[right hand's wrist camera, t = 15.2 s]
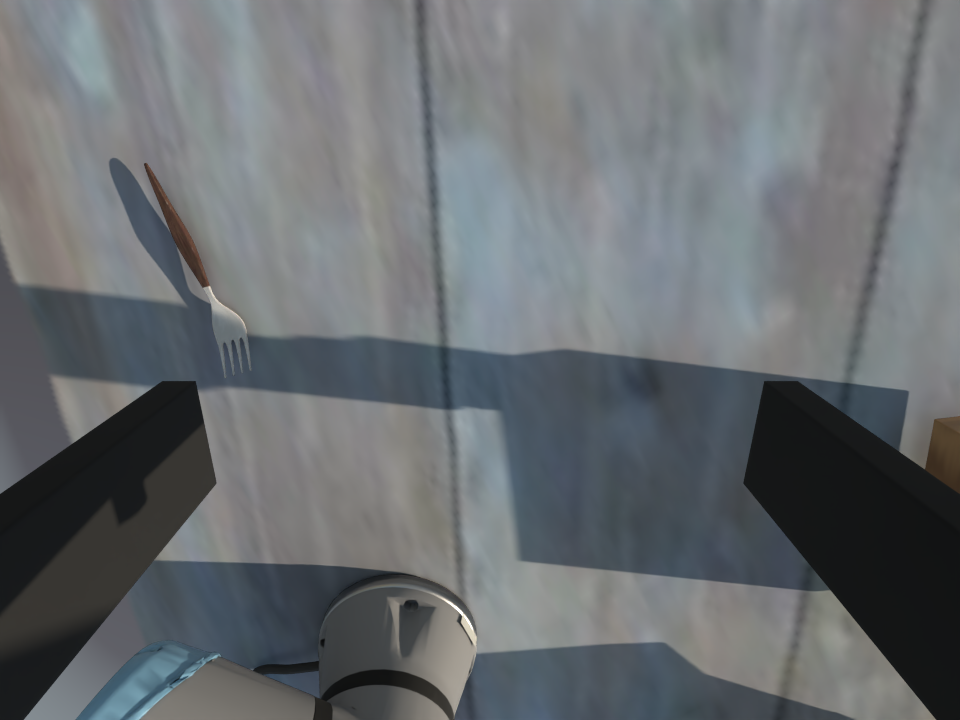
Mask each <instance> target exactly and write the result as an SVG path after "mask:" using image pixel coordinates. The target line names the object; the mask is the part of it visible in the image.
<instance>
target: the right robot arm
mask: <svg viewBox="0 0 960 720" xmlns="http://www.w3.org/2000/svg"><path fill="white" fill-rule="evenodd" d="M215 485H216V478H215V473H214V468H213V463H212V459H211V454H210V449H209V444H208V439H207V434H206V429H205V425H204V420H203V415H202V410H201V405H200V400H199V395H198V390H197V386H196V381H162V382H161V383H159V384H158V385H156V386H155V387H153V388H152V389H151V390H149V391H148V392H146V393H145V394H143V395H142V396H141V397H139V398H138V399H136V400H135V401H133V402H132V403H130V404H129V405H128V406H126V407H125V408H123V409H122V410H120V411H119V412H118V413H116V414H115V415H113V416H112V417H110V418H109V419H107V420H106V421H105V422H103V423H102V424H100V425H99V426H97V427H96V428H94V429H93V430H92V431H90V432H89V433H87V434H86V435H84V436H83V437H82V438H80V439H79V440H77V441H76V442H74V443H73V444H71V445H70V446H69V447H67V448H66V449H64V450H63V451H61V452H60V453H59V454H57V455H56V456H54V457H53V458H51V459H50V460H48V461H47V462H46V463H44V464H43V465H41V466H40V467H38V468H37V469H36V470H34V471H33V472H31V473H30V474H28V475H27V476H26V477H24V478H23V479H21V480H20V481H18V482H17V483H15V484H14V485H13V486H11V487H10V488H8V489H7V490H5V491H4V492H3V493H1V494H0V720H24V719H25V717H26V716H27V715H28V714H29V713H30V711H31V710H32V709H33V708H34V706H35V705H36V704H37V703H38V701H39V700H40V699H41V698H42V697H43V695H44V694H45V693H46V692H47V690H48V689H49V688H50V687H51V686H52V684H53V683H54V682H55V681H56V679H57V678H58V677H59V676H60V675H61V673H62V672H63V671H64V670H65V668H66V667H67V666H68V665H69V663H70V662H71V661H72V660H73V659H74V657H75V656H76V655H77V654H78V652H79V651H80V650H81V649H82V648H83V646H84V645H85V644H86V643H87V641H88V640H89V639H90V638H91V637H92V635H93V634H94V633H95V632H96V630H97V629H98V628H99V627H100V625H101V624H102V623H103V622H104V621H105V619H106V618H107V617H108V616H109V614H110V613H111V612H112V611H113V610H114V608H115V607H116V606H117V605H118V603H119V602H120V601H121V600H122V599H123V597H124V596H125V595H126V594H127V592H128V591H129V590H130V589H131V588H132V586H133V585H134V584H135V583H136V581H137V580H138V579H139V578H140V576H141V575H142V574H143V573H144V572H145V570H146V569H147V568H148V567H149V565H150V564H151V563H152V562H153V561H154V559H155V558H156V557H157V556H158V554H159V553H160V552H161V551H162V550H163V548H164V547H165V546H166V545H167V543H168V542H169V541H170V540H171V538H172V537H173V536H174V535H175V534H176V532H177V531H178V530H179V529H180V527H181V526H182V525H183V524H184V523H185V521H186V520H187V519H188V518H189V516H190V515H191V514H192V513H193V512H194V510H195V509H196V508H197V507H198V505H199V504H200V503H201V502H202V501H203V499H204V498H205V497H206V496H207V494H208V493H209V492H210V491H211V489H212V488H213V487H214V486H215ZM744 485H745V486H746V487H747V488H748V489H749V491H750V492H751V493H752V494H753V496H754V497H755V498H756V499H757V501H758V502H759V503H760V504H761V505H762V507H763V508H764V509H765V510H766V512H767V513H768V514H769V515H770V516H771V518H772V519H773V520H774V521H775V523H776V524H777V525H778V526H779V527H780V529H781V530H782V531H783V532H784V534H785V535H786V536H787V537H788V538H789V540H790V541H791V542H792V543H793V545H794V546H795V547H796V548H797V550H798V551H799V552H800V553H801V554H802V556H803V557H804V558H805V559H806V561H807V562H808V563H809V564H810V565H811V567H812V568H813V569H814V570H815V572H816V573H817V574H818V575H819V576H820V578H821V579H822V580H823V581H824V583H825V584H826V585H827V586H828V588H829V589H830V590H831V591H832V592H833V594H834V595H835V596H836V597H837V599H838V600H839V601H840V602H841V603H842V605H843V606H844V607H845V608H846V610H847V611H848V612H849V613H850V614H851V616H852V617H853V618H854V619H855V621H856V622H857V623H858V624H859V626H860V627H861V628H862V629H863V630H864V632H865V633H866V634H867V635H868V637H869V638H870V639H871V640H872V641H873V643H874V644H875V645H876V646H877V648H878V649H879V650H880V651H881V652H882V654H883V655H884V656H885V657H886V659H887V660H888V661H889V662H890V664H891V665H892V666H893V667H894V668H895V670H896V671H897V672H898V673H899V675H900V676H901V677H902V678H903V679H904V681H905V682H906V683H907V684H908V686H909V687H910V688H911V689H912V690H913V692H914V693H915V694H916V695H917V697H918V698H919V699H920V700H921V701H922V703H923V704H924V705H925V706H926V708H927V709H928V710H929V711H930V713H931V714H932V715H933V716H934V717H935V719H936V720H960V494H959V493H958V492H956V491H955V490H953V489H952V488H950V487H949V486H947V485H946V484H945V483H943V482H942V481H940V480H939V479H937V478H936V477H935V476H933V475H932V474H930V473H929V472H927V471H926V470H924V469H923V468H922V467H920V466H919V465H917V464H916V463H914V462H913V461H912V460H910V459H909V458H907V457H906V456H904V455H903V454H901V453H900V452H899V451H897V450H896V449H894V448H893V447H891V446H890V445H889V444H887V443H886V442H884V441H883V440H881V439H880V438H878V437H877V436H876V435H874V434H873V433H871V432H870V431H868V430H867V429H866V428H864V427H863V426H861V425H860V424H858V423H857V422H855V421H854V420H853V419H851V418H850V417H848V416H847V415H845V414H844V413H842V412H841V411H840V410H838V409H837V408H835V407H834V406H832V405H831V404H830V403H828V402H827V401H825V400H824V399H822V398H821V397H819V396H818V395H817V394H815V393H814V392H812V391H811V390H809V389H808V388H807V387H805V386H804V385H802V384H801V383H799V382H798V381H764V386H763V390H762V395H761V400H760V405H759V410H758V415H757V420H756V425H755V429H754V434H753V439H752V444H751V449H750V454H749V459H748V463H747V468H746V473H745V478H744ZM476 640H477V636H476V626H475V622H474V620H473V617H472V615H471V613H470V611H469V610H468V608H467V607H466V605H465V604H464V603H463V602H462V601H461V600H460V599H459V598H458V597H457V596H456V595H455V594H453V593H452V592H451V591H449V590H448V589H446V588H445V587H443V586H441V585H439V584H437V583H435V582H432V581H429V580H426V579H423V578H419V577H415V576H409V575H383V576H377V577H372V578H369V579H366V580H363V581H360V582H358V583H356V584H354V585H352V586H350V587H348V588H347V589H345V590H344V591H343V592H342V593H340V594H339V595H338V596H337V597H336V598H335V599H334V601H333V602H332V603H331V605H330V606H329V608H328V610H327V612H326V615H325V618H324V621H323V623H322V626H321V630H320V633H319V643H318V655H319V661H316V662H308V663H300V664H291V665H279V664H268V665H262V666H259V667H257V668H255V669H254V670H253V671H252V670H250V669H247V668H245V667H243V666H240V665H238V664H236V663H234V662H231V661H229V660H227V659H224V658H222V657H221V654H219V653H217V652H212V653H209V652H206V651H203V650H200V649H197V648H194V647H191V646H187V645H185V644H182V643H179V642H176V641H171V640H165V641H159V642H155V643H153V644H150V645H148V646H147V647H145V648H143V649H142V650H140V651H139V652H138V653H137V654H135V655H134V656H133V657H132V658H131V659H130V660H129V661H128V662H127V663H126V664H125V665H124V666H123V667H122V668H121V669H120V670H119V671H118V672H117V673H116V674H115V675H114V676H113V677H112V678H111V679H110V680H109V682H108V683H107V684H106V685H105V686H104V687H103V688H102V689H101V690H100V692H99V693H98V694H97V695H96V696H95V697H94V698H93V700H92V701H91V702H90V703H89V704H88V705H87V707H86V708H85V709H84V710H83V711H82V712H81V714H80V715H79V716H78V717H77V718H76V720H454V717H455V713H456V710H457V707H458V704H459V701H460V698H461V695H462V692H463V689H464V686H465V683H466V681H467V680H468V678H469V676H470V673H471V671H472V668H473V665H474V661H475V657H476ZM312 671H319V686H320V699H319V698H317V697H314V696H313V695H311V694H308V693H306V692H303V691H301V690H298V689H296V688H293V687H291V686H289V685H286V684H284V683H281V682H279V681H276V680H274V679H271V678H269V677H267V676H264V674H295V673H304V672H312Z"/></svg>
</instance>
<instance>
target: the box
mask: <svg viewBox="0 0 960 720" xmlns="http://www.w3.org/2000/svg"><path fill="white" fill-rule="evenodd" d="M925 470H926V471H927V472H929V473H930V474H932V475H933V476H935V477H936V478H937V479H939V480H940V481H942V482H943V483H945V484H946V485H947V486H949V487H950V488H952V489H953V490H955V491H956V492H958V493H959V494H960V416H958V417H950V418H941V419H935V420H934V425H933V430H932V436H931V441H930V446H929V452H928V457H927V462H926V468H925Z"/></svg>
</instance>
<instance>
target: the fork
mask: <svg viewBox="0 0 960 720" xmlns="http://www.w3.org/2000/svg"><path fill="white" fill-rule="evenodd" d="M144 166H145V169H146V172H147V174H148V177H149V180H150V182H151V185H152V187H153V190H154V192H155V194H156V197H157V199H158V202H159V204H160V206H161V209H162V211H163V214H164V217H165V219H166V222H167V224H168V227H169V229H170V232H171V234H172V237H173V239H174V241H175V243H176V245H177V247H178V249H179V251H180V252H181V254H182V256H183V257H184V259H185V261H186V262H187V264H188V265H189V267H190V268H191V270H192V272H193V273H194V275H195V276H196V278H197V279H198V281H199V283H200V284H201V286H202V287H203V289H204V291H205V292H206V294H207V296H208V298H209V300H210V303H211V310H212V326H213V331H214V335H215V338H216V341H217V344H218V347H219V351H220V356H221V360H222V365H223V371H224V378H226V366H225V356H224V348H223V344H224V343H226V345H227V348H228V352H229V357H230V362H231V367H232V372H233V376H235V372H234V361H233V352H232V340H234V342H235V345H236V349H237V353H238V358H239V363H240V368H241V373H243V366H242V356H241V348H240V338H242V339H243V341H244V345H245V349H246V354H247V358H248V363H249V370H250V371H251V360H250V351H249V343H248V337H247V331H246V327H245V324H244V322H243V320H242V319H241V318H240V317H239V316H238V315H237V314H236V313H235V312H233V311H232V310H230V309H229V308H227V307H226V306H224V305H223V304H221V303H220V302H219V301H218V300H217V299H216V298H215V296H214V295H213V293H212V290H211V288H210V285H209V282H208V279H207V277H206V274H205V271H204V268H203V265H202V262H201V260H200V257H199V254H198V252H197V249H196V247H195V244H194V242H193V240H192V238H191V236H190V234H189V233H188V231H187V229H186V228H185V226H184V224H183V223H182V221H181V219H180V218H179V216H178V215H177V213H176V211H175V210H174V208H173V206H172V205H171V203H170V201H169V199H168V198H167V196H166V194H165V192H164V191H163V189H162V187H161V185H160V184H159V182H158V180H157V179H156V177H155V175H154V174H153V172H152V170H151V169H150V167H149V166H148V164H147V163H145V164H144Z"/></svg>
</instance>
